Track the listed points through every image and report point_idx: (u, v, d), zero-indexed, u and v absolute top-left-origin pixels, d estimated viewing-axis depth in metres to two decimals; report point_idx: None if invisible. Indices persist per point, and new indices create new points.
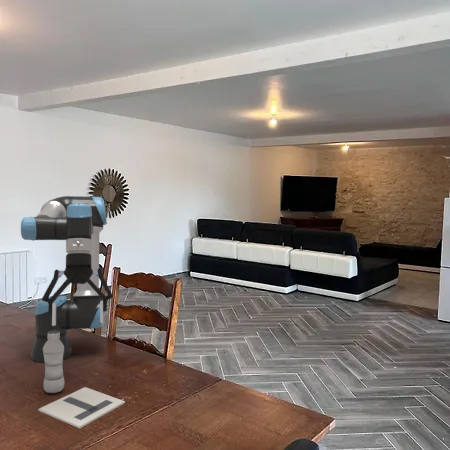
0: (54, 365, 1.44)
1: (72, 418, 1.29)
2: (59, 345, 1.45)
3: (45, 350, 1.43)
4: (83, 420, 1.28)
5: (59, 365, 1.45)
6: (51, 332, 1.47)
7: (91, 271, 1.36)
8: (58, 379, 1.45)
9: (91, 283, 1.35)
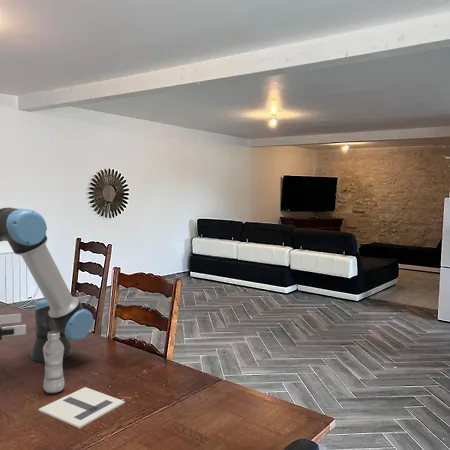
0: (54, 365, 1.44)
1: (72, 418, 1.29)
2: (59, 345, 1.45)
3: (45, 350, 1.43)
4: (83, 420, 1.28)
5: (59, 365, 1.45)
6: (51, 332, 1.47)
7: None
8: (58, 379, 1.45)
9: None
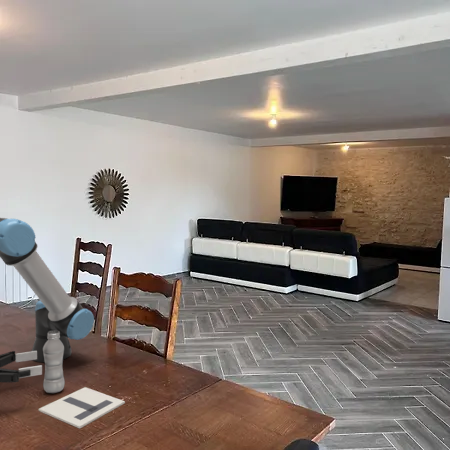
0: (54, 365, 1.44)
1: (72, 418, 1.29)
2: (59, 345, 1.45)
3: (45, 350, 1.43)
4: (83, 420, 1.28)
5: (59, 365, 1.45)
6: (51, 332, 1.47)
7: None
8: (58, 379, 1.45)
9: None
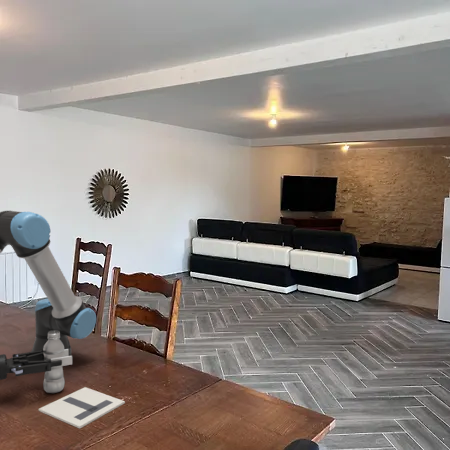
0: None
1: (72, 418, 1.29)
2: (60, 345, 1.45)
3: (45, 350, 1.43)
4: (83, 420, 1.28)
5: None
6: (51, 332, 1.47)
7: (14, 372, 1.37)
8: (58, 379, 1.45)
9: None
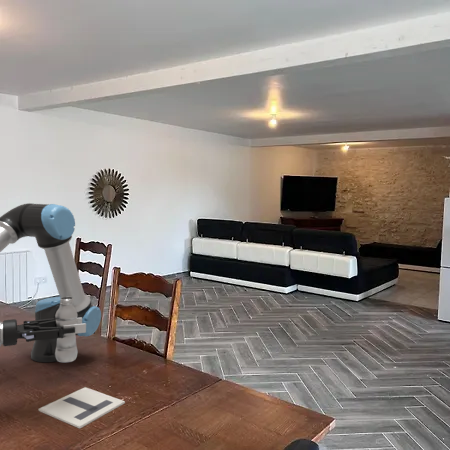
0: None
1: (72, 418, 1.29)
2: (73, 311, 1.37)
3: (57, 316, 1.35)
4: (83, 420, 1.28)
5: None
6: (64, 298, 1.38)
7: (25, 338, 1.29)
8: (70, 348, 1.37)
9: None
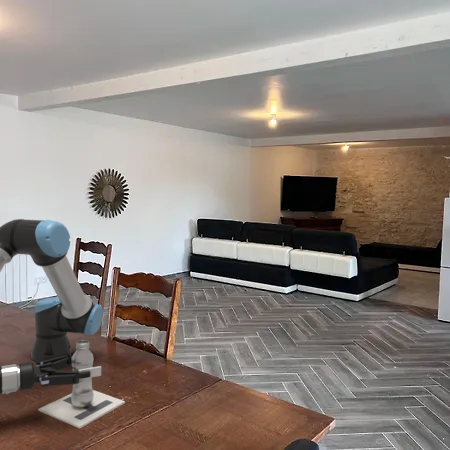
0: None
1: (72, 418, 1.29)
2: (89, 355, 1.35)
3: (74, 361, 1.33)
4: (83, 420, 1.28)
5: None
6: (80, 342, 1.37)
7: None
8: (87, 393, 1.35)
9: None
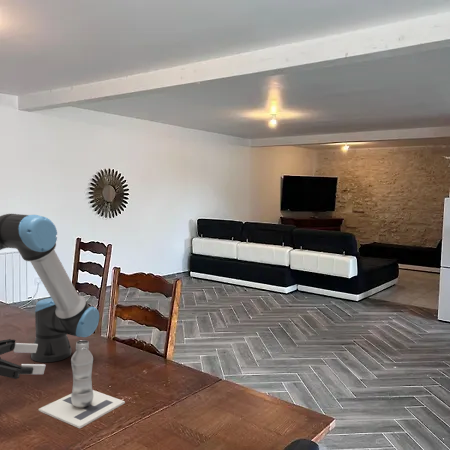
0: (83, 378, 1.34)
1: (72, 418, 1.29)
2: (89, 356, 1.35)
3: (74, 361, 1.33)
4: (83, 420, 1.28)
5: (88, 377, 1.35)
6: (79, 342, 1.37)
7: None
8: (87, 393, 1.35)
9: None
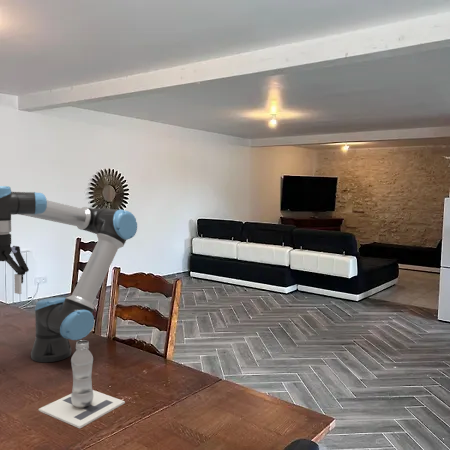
0: (83, 378, 1.34)
1: (72, 418, 1.29)
2: (89, 356, 1.35)
3: (74, 361, 1.33)
4: (83, 420, 1.28)
5: (88, 377, 1.35)
6: (79, 342, 1.37)
7: None
8: (87, 393, 1.35)
9: None
